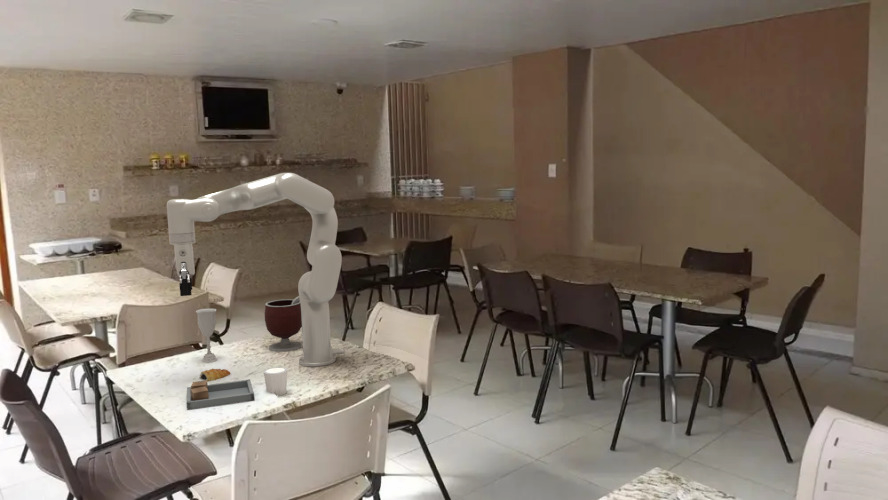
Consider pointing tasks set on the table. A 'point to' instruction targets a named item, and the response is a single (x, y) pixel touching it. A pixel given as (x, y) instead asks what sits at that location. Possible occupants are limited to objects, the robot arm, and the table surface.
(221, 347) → the table surface
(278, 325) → the mate gourd
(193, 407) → the tray
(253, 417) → the table surface
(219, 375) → the pastry
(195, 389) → the walnut block
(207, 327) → the chalice
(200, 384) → the walnut block
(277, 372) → the shot glass
